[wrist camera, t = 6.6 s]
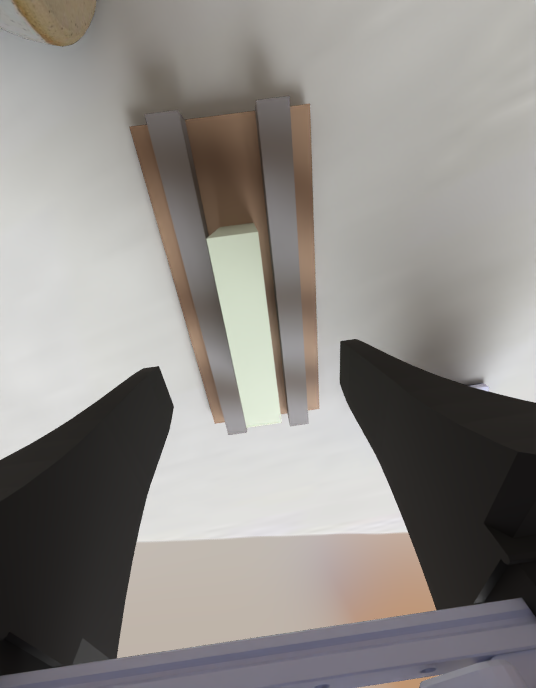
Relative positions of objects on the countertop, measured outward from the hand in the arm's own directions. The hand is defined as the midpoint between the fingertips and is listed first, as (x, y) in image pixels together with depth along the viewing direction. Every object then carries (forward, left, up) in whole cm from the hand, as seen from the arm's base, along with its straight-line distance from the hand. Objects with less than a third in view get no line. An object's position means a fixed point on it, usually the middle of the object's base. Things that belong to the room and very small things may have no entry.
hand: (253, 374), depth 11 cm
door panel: (0, 0, -8) cm, 8 cm away
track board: (0, 0, -9) cm, 9 cm away
